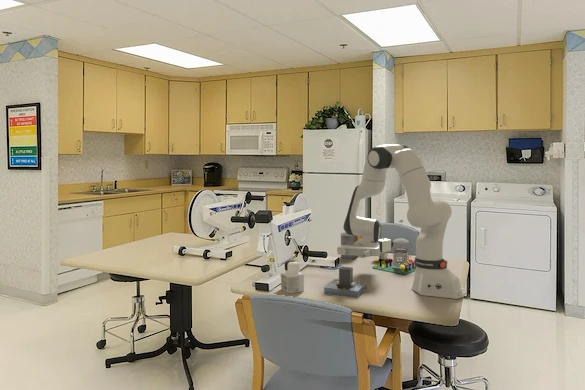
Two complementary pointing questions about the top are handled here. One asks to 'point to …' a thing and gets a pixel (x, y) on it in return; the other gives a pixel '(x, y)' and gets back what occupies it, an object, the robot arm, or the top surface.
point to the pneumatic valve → (385, 247)
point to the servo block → (345, 278)
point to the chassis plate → (353, 291)
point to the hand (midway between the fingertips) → (354, 253)
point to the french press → (403, 252)
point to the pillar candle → (348, 243)
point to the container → (292, 277)
